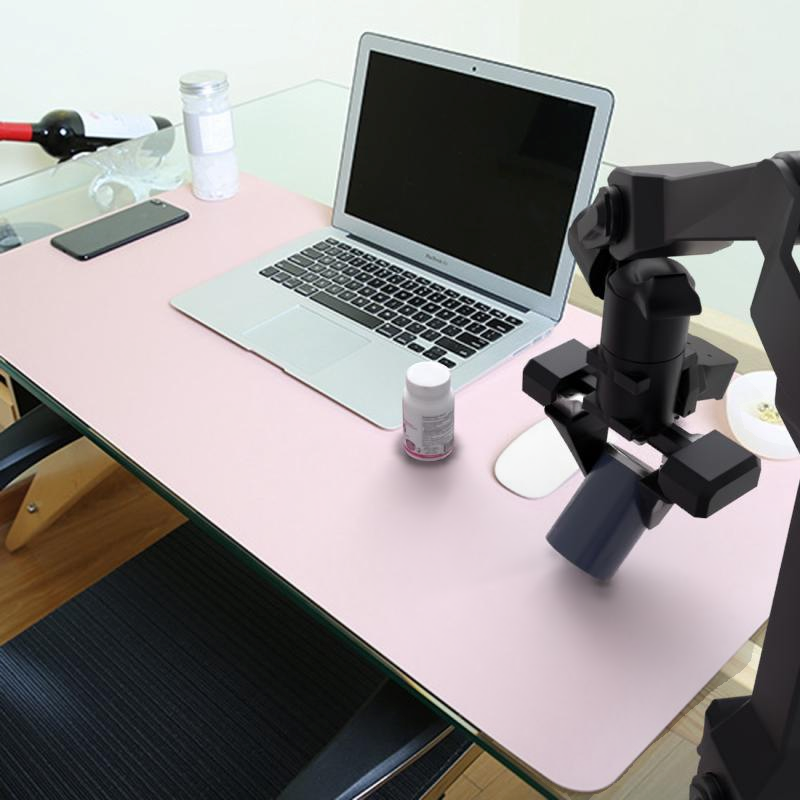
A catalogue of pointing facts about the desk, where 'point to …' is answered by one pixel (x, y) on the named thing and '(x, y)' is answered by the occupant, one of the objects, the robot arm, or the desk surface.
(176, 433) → the desk surface
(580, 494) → the navy blue tumbler
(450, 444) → the pill bottle
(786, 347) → the robot arm
